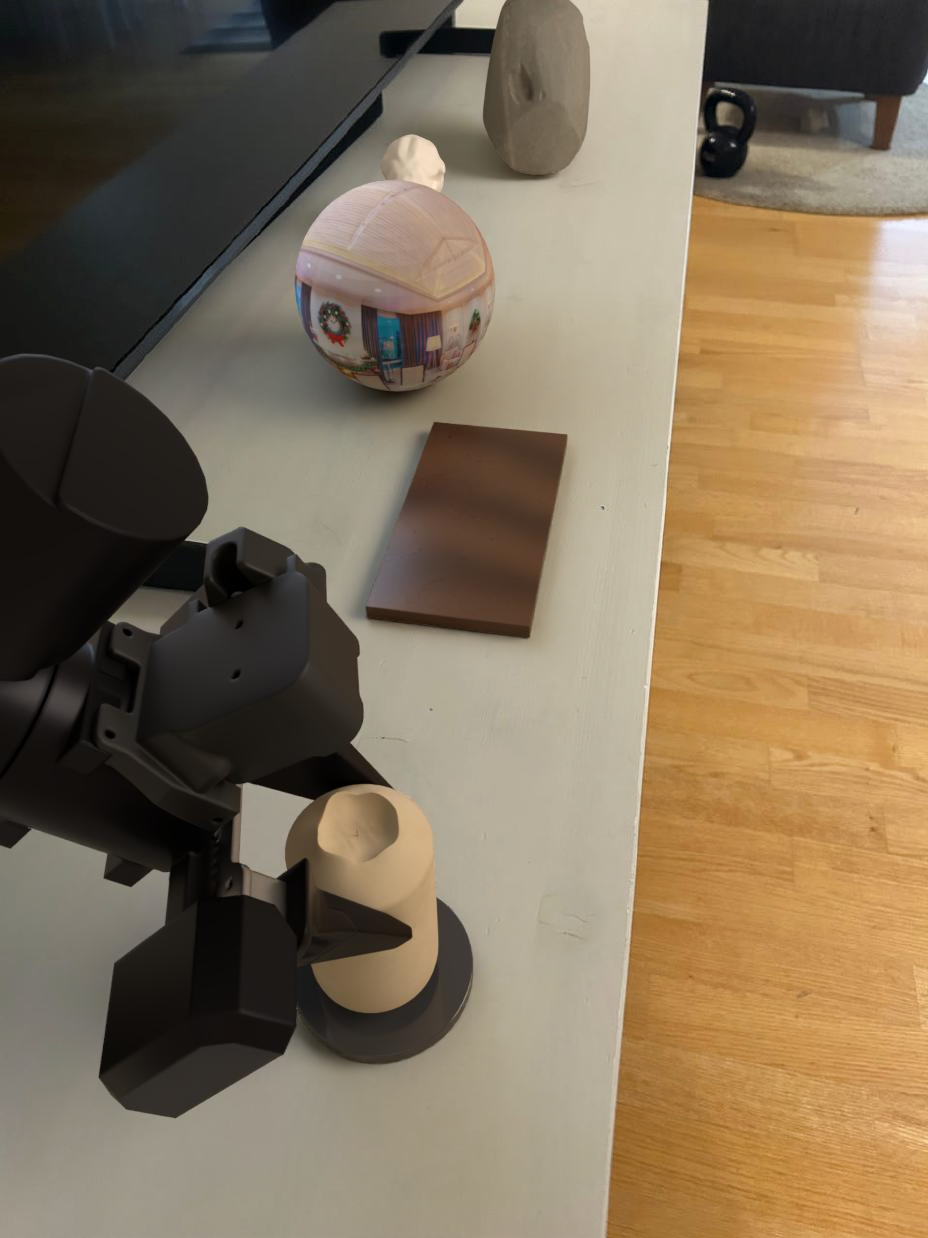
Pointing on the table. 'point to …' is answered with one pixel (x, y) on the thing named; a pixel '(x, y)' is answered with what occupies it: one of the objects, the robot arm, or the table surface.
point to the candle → (373, 887)
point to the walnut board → (472, 531)
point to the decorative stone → (538, 85)
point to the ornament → (395, 285)
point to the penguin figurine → (414, 162)
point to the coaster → (401, 1026)
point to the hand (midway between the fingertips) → (398, 869)
